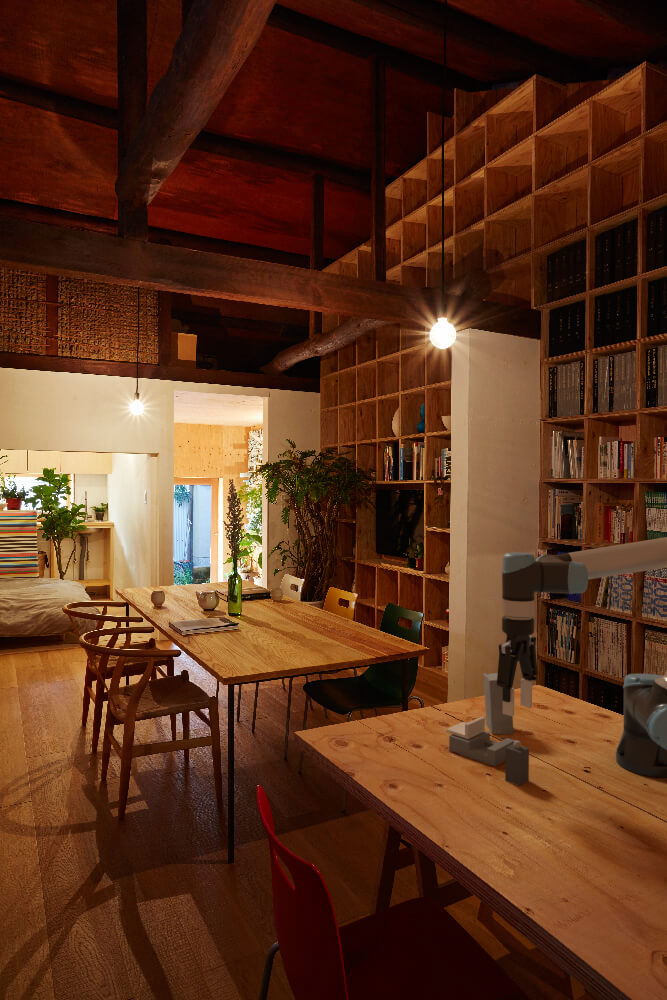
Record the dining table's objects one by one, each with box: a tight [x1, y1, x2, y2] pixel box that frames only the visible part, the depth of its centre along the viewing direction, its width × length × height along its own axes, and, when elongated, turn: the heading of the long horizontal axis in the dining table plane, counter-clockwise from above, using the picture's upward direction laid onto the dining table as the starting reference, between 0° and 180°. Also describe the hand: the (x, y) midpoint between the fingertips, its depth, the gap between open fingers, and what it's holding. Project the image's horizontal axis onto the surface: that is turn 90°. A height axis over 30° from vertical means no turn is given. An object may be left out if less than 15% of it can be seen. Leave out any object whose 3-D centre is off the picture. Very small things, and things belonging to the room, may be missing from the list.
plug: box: [504, 740, 530, 787], centre depth 156 cm, size 4×4×10 cm
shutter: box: [445, 716, 486, 739], centre depth 176 cm, size 7×8×4 cm
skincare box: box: [483, 672, 514, 735], centre depth 190 cm, size 8×7×16 cm
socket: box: [448, 730, 516, 767], centre depth 173 cm, size 14×10×4 cm
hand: (517, 710), depth 156 cm, fingers open, 8 cm apart
